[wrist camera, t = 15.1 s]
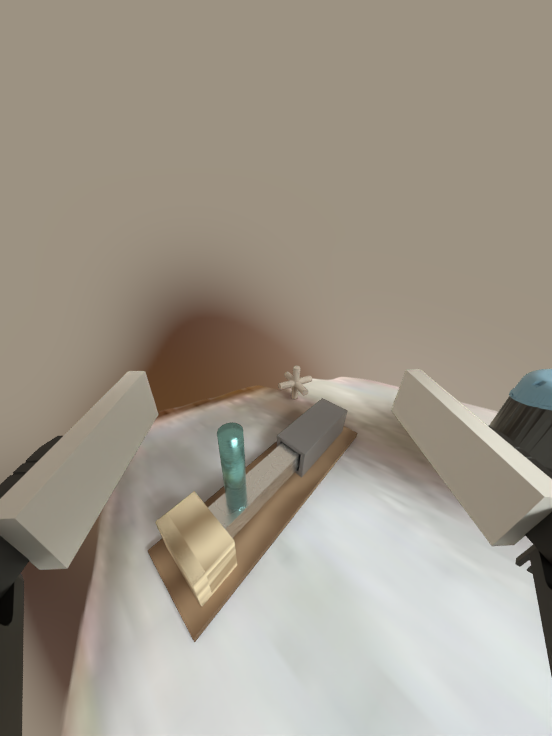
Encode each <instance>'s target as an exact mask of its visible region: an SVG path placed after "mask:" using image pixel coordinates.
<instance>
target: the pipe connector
mask: <svg viewBox="0 0 552 736" xmlns="http://www.w3.org/2000/svg"><path fill="white" fill-rule="evenodd" d="M284 376H285V377H286V378H287V379H288V380H289V381H287V382H283V383H279V384H278V387H279V389H280V390H282V389H286V388H290V387H292V393H291V398H292V399H297V396H298V390H299V391H300V392H301V393H302V395H307V393H308V390H307V389H306V388H305V387H304V386H303V385H302V384H304V383H308V382H311V381H312V378H311V376H306V377H302V378H299V376H300V367H299V366H294V368H293V376H292V375H291V374H290V373H289V372H286V373H285V374H284Z"/></svg>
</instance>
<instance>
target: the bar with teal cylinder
mask: <svg viewBox="0 0 552 736" xmlns="http://www.w3.org/2000/svg"><path fill="white" fill-rule="evenodd" d="M217 437H218V444H219V451H220V459H221V466H222V473H223V481H224V488H225V493H224V494H223V495H222V496H221V497H220V498H218V499H217V500H216V501H215V502H214V503H213V504H212V505H210V506H209V507H208V509H209V510H210V511H211V512H212V514H213V515H214V516H215V517H216V519H217V520H218V521H219V522H220V524H221V525H222V526H223V527H224V528H225V530H226V531H227V532H228V533H229V535H230V536H231V537H232V538H233V537H234V536H235V535H236V534H237V533H238V532H239V531H240V530H241V529H242V528H243V527H244V526H245V524H246V523H247V522H248V521H249V520H250V519H251V518H252V517H253V516H254V515H255V514H256V513H257V512H258V511H259V510H260V509H261V507H262V506H263V505H264V504H265V503H266V502H267V501H268V500H269V499H270V498H271V497H272V496H273V495H274V494H275V493H276V491H277V490H278V489H279V488H280V487H281V486H282V485H283V484H284V483H285V482H286V481H287V480H288V479H289V478H290V477H291V475H292V474H293V473H294V472H295V471H296V470H297V469H298V468H299V465H300V457H301V455H300V454H299V453H297V452H296V451H294V450H293V449H292V448H290V447H289V446H287V445H286V444H285V443H283V442H282V443H281V444H280V445H279V446H278V447H277V448H276V449H274V450H273V451H272V452H271V453H270V454H269V455H268V456H266V457H265V458H264V459H263V460H262V461H261V462H260V463H258V464H257V465H256V466H255V467H254V468H253V469H252V470H250V471H249V472H248V473H247V474H246V472H245V454H244V437H243V428H242V426H241V425H239V424H237V423H227V424H224V425H222V426H221V427H220V428H219V429H218V431H217Z"/></svg>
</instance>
